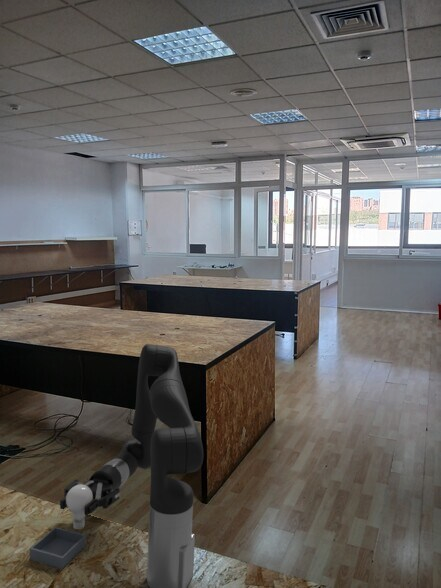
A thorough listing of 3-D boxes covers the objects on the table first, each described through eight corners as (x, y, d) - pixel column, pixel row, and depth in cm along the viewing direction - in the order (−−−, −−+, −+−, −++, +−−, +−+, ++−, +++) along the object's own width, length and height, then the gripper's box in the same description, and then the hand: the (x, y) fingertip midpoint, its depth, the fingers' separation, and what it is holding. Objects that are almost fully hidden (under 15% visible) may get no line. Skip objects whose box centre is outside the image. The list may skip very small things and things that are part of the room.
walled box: (86, 545, 106) (86, 535, 106) (62, 569, 98) (62, 557, 98) (54, 537, 109) (55, 526, 108) (29, 559, 100) (29, 548, 100)
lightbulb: (59, 531, 109) (60, 488, 108) (79, 518, 115) (79, 477, 114) (78, 539, 106) (79, 495, 105) (97, 526, 112) (98, 483, 111)
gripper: (88, 459, 125) (48, 487, 109) (133, 468, 121) (99, 499, 105) (87, 485, 126) (48, 517, 110) (133, 495, 122) (99, 529, 106)
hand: (73, 508), depth 108 cm, fingers closed on lightbulb, 6 cm apart
